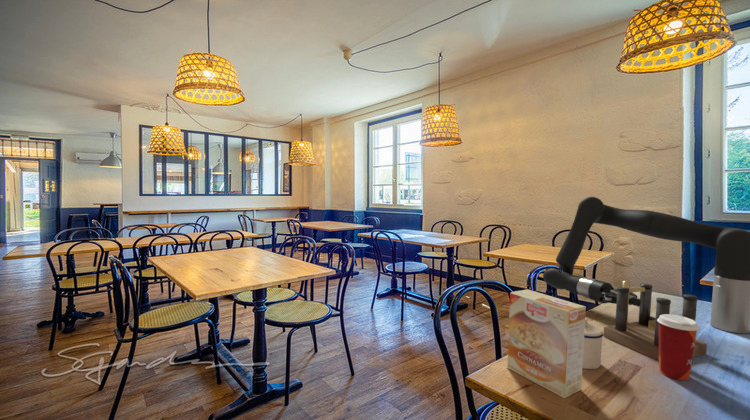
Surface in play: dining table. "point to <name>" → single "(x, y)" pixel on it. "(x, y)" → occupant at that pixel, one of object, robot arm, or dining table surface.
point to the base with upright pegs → (648, 335)
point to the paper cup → (676, 345)
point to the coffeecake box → (546, 341)
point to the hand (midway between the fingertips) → (646, 304)
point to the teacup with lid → (592, 346)
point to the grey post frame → (642, 300)
